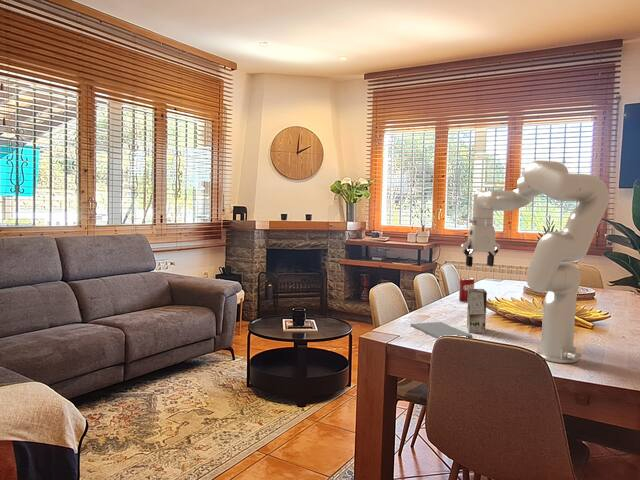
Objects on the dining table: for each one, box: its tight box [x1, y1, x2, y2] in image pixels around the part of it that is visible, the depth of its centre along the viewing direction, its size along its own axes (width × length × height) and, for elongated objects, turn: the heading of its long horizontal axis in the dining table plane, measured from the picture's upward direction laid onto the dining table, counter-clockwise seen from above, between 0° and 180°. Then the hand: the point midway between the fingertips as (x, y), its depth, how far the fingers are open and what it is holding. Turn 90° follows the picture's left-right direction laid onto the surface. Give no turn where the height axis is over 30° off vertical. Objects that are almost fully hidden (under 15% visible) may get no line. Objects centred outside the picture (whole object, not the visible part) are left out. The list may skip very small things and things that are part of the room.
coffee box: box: [466, 288, 488, 334], centre depth 198 cm, size 9×6×16 cm
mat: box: [410, 321, 473, 339], centre depth 196 cm, size 22×14×1 cm, turn 18°
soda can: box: [458, 277, 475, 304], centre depth 258 cm, size 7×7×12 cm
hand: (479, 266), depth 196 cm, fingers open, 9 cm apart
